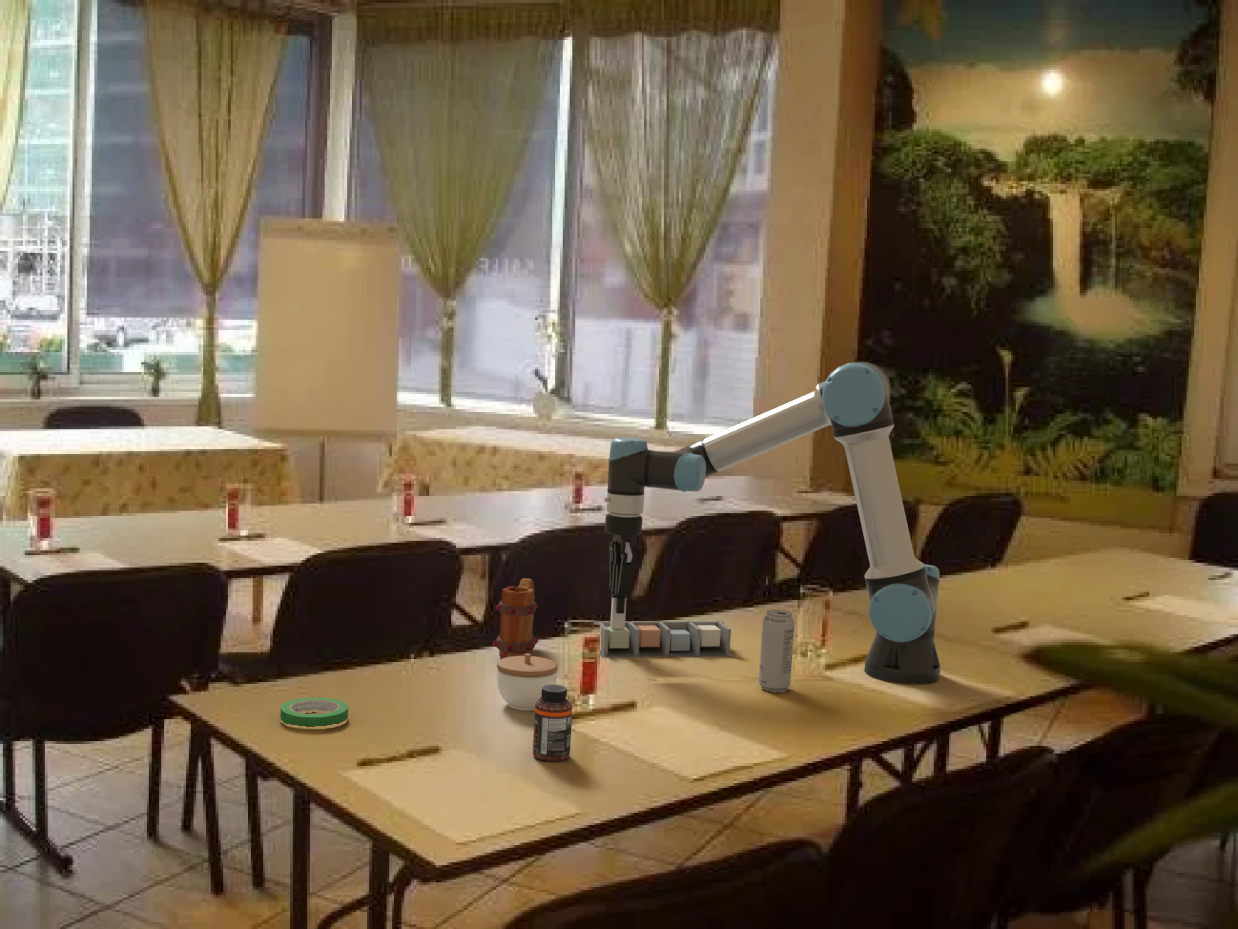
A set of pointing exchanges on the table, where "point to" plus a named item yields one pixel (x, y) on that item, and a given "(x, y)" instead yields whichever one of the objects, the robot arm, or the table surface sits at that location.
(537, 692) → the lidded jar
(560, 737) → the supplement bottle
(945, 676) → the table surface
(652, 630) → the terracotta key
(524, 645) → the mug
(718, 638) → the ivory key
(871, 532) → the robot arm
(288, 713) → the tape roll
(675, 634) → the slate key
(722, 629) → the grey compartment rack
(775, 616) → the energy drink can
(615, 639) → the sage key
